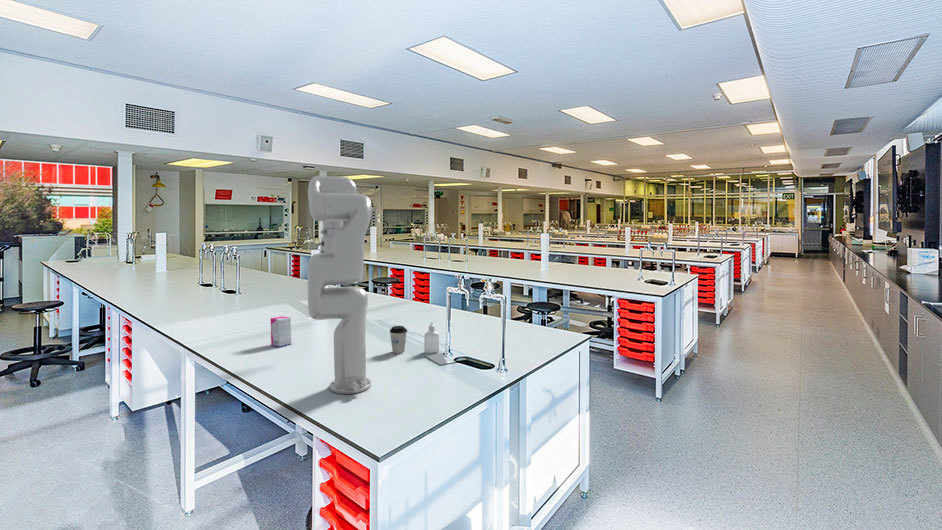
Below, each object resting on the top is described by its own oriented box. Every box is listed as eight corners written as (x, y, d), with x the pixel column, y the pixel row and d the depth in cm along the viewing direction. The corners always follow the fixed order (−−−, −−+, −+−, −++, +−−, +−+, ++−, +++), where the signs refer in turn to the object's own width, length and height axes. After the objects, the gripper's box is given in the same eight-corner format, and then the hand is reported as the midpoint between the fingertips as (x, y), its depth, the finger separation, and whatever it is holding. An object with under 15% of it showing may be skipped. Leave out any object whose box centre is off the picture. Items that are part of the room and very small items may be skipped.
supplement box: (292, 344, 190) (291, 317, 188) (279, 347, 185) (278, 320, 183) (283, 342, 193) (282, 315, 191) (270, 345, 188) (269, 318, 186)
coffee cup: (402, 348, 185) (402, 324, 184) (410, 353, 180) (410, 328, 178) (386, 351, 181) (386, 326, 180) (394, 355, 176) (393, 330, 175)
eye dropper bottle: (436, 354, 178) (436, 324, 177) (422, 353, 179) (422, 323, 178) (440, 351, 182) (440, 321, 181) (427, 350, 184) (427, 320, 182)
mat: (464, 361, 170) (464, 360, 170) (440, 365, 165) (440, 364, 165) (447, 352, 180) (447, 351, 180) (425, 356, 175) (425, 355, 175)
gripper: (319, 233, 169) (320, 279, 171) (357, 232, 183) (358, 275, 184) (307, 233, 173) (309, 278, 175) (345, 232, 187) (346, 273, 189)
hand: (334, 276), depth 180 cm, fingers open, 9 cm apart
